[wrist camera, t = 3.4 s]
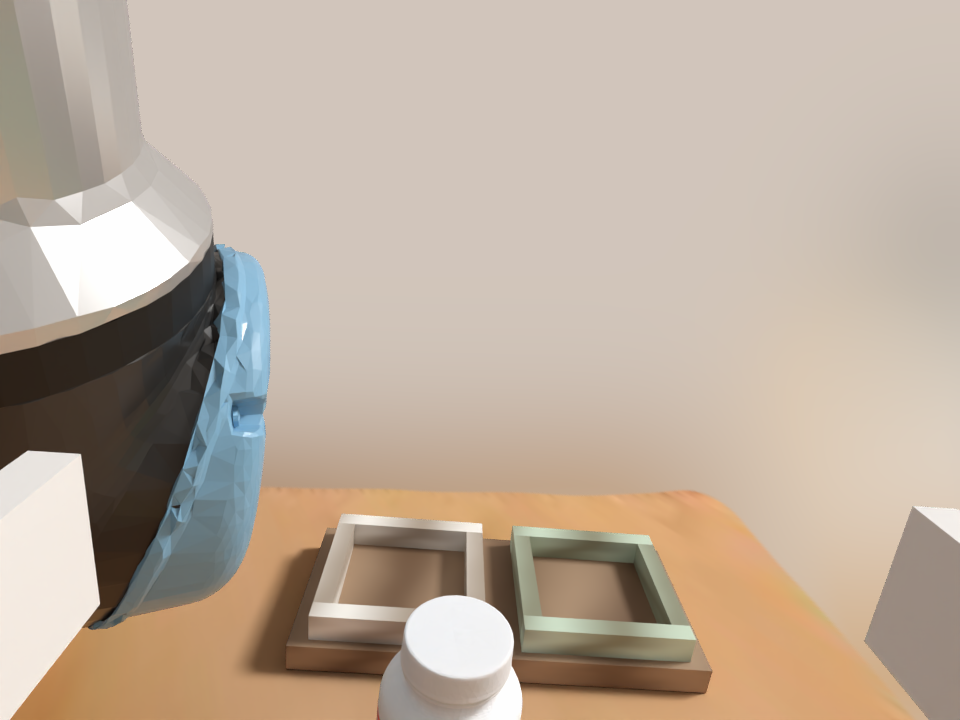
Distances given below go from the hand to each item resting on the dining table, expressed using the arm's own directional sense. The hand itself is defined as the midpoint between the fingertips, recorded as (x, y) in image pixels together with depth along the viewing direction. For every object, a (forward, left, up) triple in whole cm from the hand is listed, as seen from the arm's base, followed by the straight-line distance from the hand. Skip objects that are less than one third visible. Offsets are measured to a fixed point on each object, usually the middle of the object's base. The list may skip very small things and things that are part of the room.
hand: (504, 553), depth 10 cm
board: (+3, +21, -20) cm, 30 cm away
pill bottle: (0, +9, -20) cm, 22 cm away
